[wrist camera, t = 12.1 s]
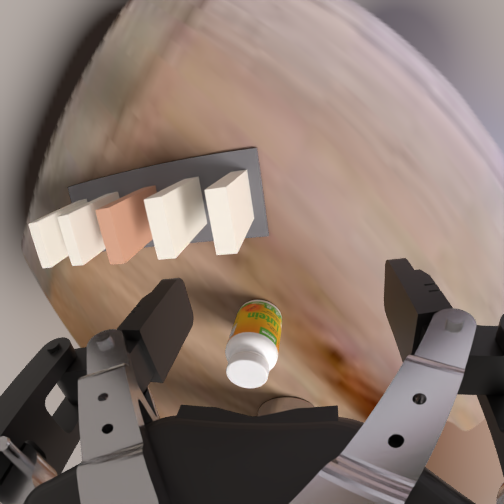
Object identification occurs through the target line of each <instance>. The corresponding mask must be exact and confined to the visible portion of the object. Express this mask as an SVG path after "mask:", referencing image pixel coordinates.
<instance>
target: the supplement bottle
mask: <svg viewBox="0 0 504 504" xmlns="http://www.w3.org/2000/svg"><path fill="white" fill-rule="evenodd" d="M281 328H282V316H281V313H280V311H279V310H278V308H277V307H276V306H275V305H273V304H272V303H270V302H268V301H264V300H252V301H249V302H246V303H245V304H244V305H242V306H241V308H240V309H239V311H238V313H237V316H236V319H235V322H234V325H233V328H232V331H231V334H230V337H229V340H228V342H227V346H226V350H225V354H226V358H227V361H228V365H227V369H226V373H227V376H228V378H229V379H230V381H231V382H233V383H234V384H236V385H238V386H240V387H243V388H257V387H260V386H261V385H263V384H264V383H265V382H266V381H267V378H268V373H269V371H270V370H271V369H272V368H273V367H274V366H275V364H276V362H277V358H278V352H279V344H280V335H281Z"/></svg>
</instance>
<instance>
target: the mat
mask: <svg viewBox="0 0 504 504" xmlns="http://www.w3.org/2000/svg"><path fill="white" fill-rule="evenodd" d="M240 170H247V172H248V179H249V186H250V193H251V200H252V206H253V213H254V220H253V222H252V224H251V226H250V228H249V230H248V232H247V234H246V236H245V238H252V237H264V236H269V232H268V224H267V217H266V209H265V202H264V194H263V187H262V180H261V173H260V166H259V159H258V152H257V148H251V149H244V150H237V151H230V152H224V153H217V154H211V155H205V156H199V157H194V158H188V159H183V160H178V161H172V162H167V163H162V164H158V165H153V166H148V167H144V168H139V169H135V170H131V171H126V172H122V173H118V174H114V175H110V176H106V177H102V178H99V179H95V180H91V181H88V182H84V183H80V184H77V185H73V186H70V187H68V190H69V195H70V199H71V203H74V202H76V201H79V200H83V199H87V202H90V201H92V200H94V199H97V198H99V197H101V196H103V195H106V194H109V193H113V192H118V194H119V198H121V197H124V196H126V195H128V194H130V193H132V192H134V191H136V190H139V189H141V188H143V187H149V186H154V185H156V190H157V192H159V191H161V190H163V189H165V188H167V187H169V186H171V185H173V184H175V183H177V182H179V181H181V180H183V179H187V178H193V177H199V181H200V187H201V192H202V198H203V203H204V209H205V214H206V219H207V224H206V225H205V226H204V227H203V229H202V230H201V231H200V232H199V233H198V234H197V235H196V236H195V237H194V238H193V240H192V241H191V242H190V243H195V242H206V241H214V239H213V234H212V229H211V224H210V218H209V213H208V208H207V202H206V197H205V191H204V190H205V189H206V188H208V187H209V186H211V185H212V184H214V183H215V182H217V181H218V180H219V179H221V178H222V177H224V176H225V175H227V174H228V173H230V172H233V171H240ZM153 246H155V245H154V241H153V240H151V241H150V242H149V243H148V244H147V245H146V246H144V247H153ZM103 251H106V249H104V250H103Z"/></svg>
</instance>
